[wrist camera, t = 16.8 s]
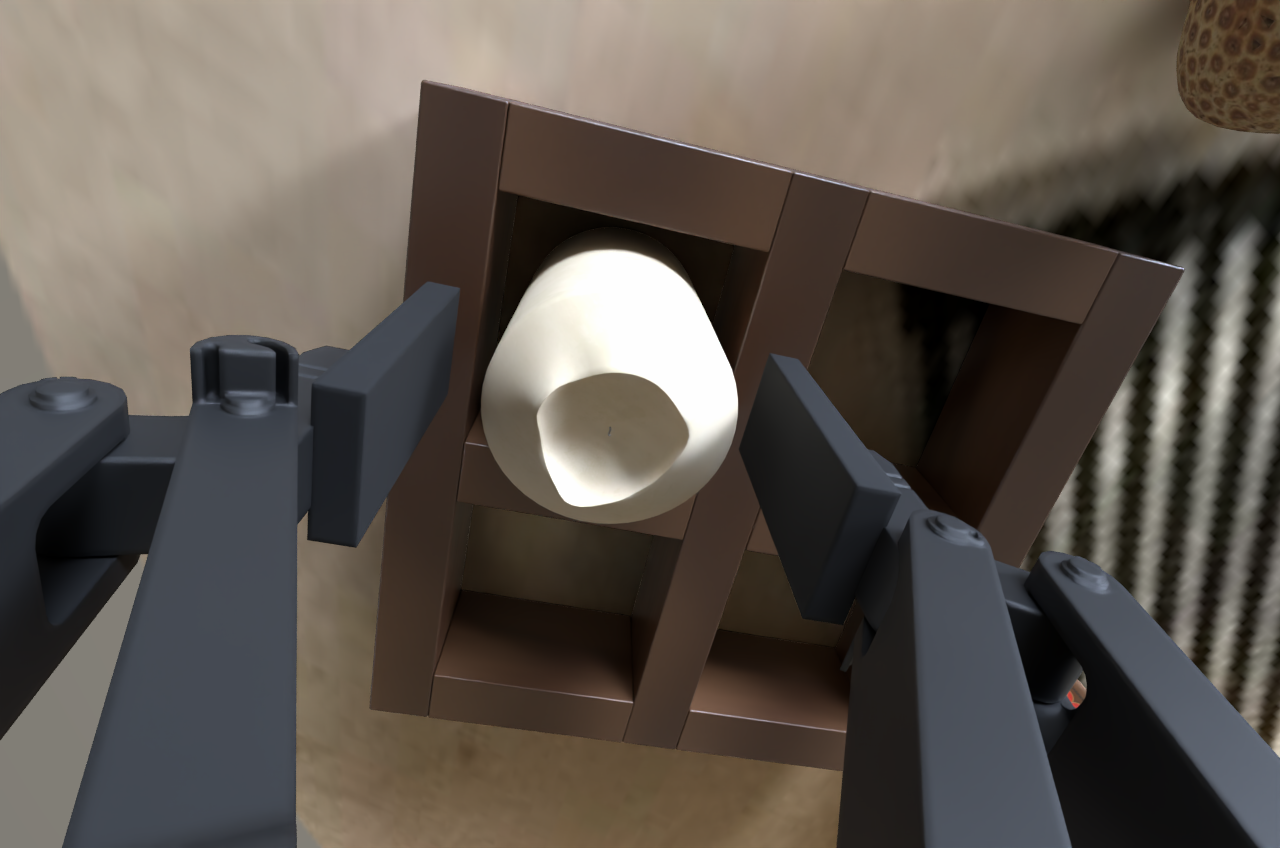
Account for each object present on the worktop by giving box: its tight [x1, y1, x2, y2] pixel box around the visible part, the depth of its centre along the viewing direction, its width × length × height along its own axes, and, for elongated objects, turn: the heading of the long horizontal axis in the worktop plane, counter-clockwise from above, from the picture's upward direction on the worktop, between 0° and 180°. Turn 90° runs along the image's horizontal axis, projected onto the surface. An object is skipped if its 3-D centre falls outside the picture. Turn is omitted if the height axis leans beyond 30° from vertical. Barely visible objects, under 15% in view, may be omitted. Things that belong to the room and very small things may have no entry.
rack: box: [370, 80, 1185, 771], centre depth 22 cm, size 20×20×4 cm
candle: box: [481, 227, 738, 524], centre depth 18 cm, size 6×6×10 cm
